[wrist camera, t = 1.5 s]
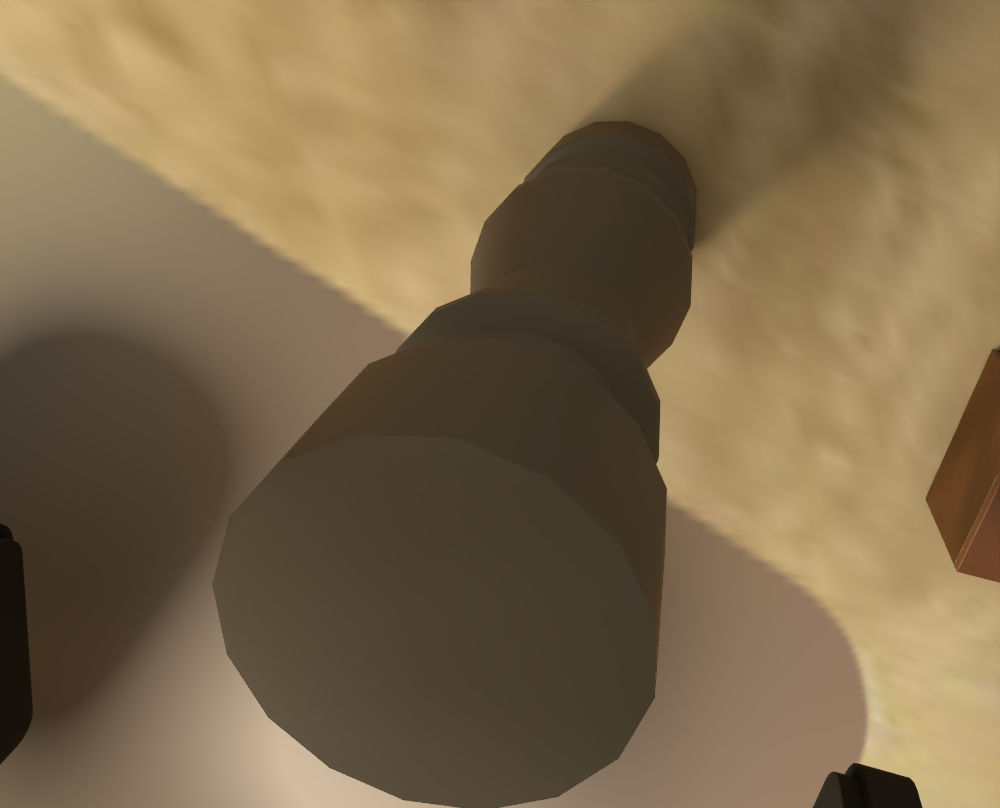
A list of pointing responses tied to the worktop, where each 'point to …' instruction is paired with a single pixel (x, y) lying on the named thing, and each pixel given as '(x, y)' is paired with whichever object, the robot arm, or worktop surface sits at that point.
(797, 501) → the worktop surface
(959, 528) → the brown wooden block
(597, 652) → the candle holder
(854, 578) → the worktop surface
